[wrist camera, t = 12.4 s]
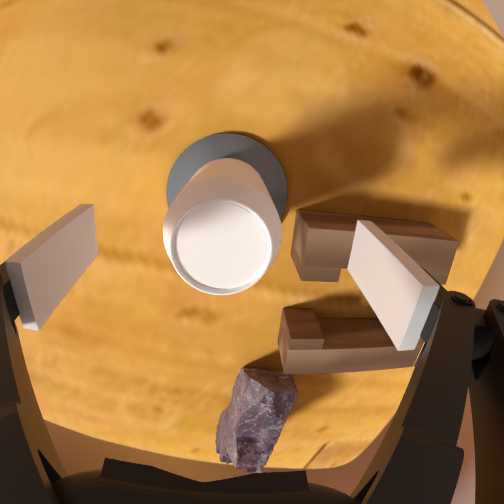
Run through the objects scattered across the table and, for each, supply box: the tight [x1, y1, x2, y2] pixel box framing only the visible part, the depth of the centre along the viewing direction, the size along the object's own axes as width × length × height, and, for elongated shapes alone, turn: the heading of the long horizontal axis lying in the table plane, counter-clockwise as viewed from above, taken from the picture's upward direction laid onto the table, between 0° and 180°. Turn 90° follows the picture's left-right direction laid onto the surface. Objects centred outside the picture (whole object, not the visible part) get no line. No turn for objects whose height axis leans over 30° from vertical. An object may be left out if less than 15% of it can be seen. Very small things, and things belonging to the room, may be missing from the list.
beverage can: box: [163, 158, 282, 295], centre depth 21 cm, size 6×6×12 cm
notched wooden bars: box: [278, 210, 458, 374], centre depth 28 cm, size 14×14×5 cm
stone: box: [216, 368, 298, 473], centre depth 32 cm, size 10×6×15 cm
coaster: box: [167, 133, 288, 220], centre depth 26 cm, size 10×10×1 cm
